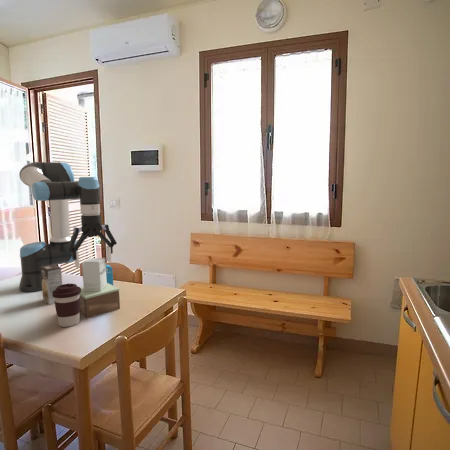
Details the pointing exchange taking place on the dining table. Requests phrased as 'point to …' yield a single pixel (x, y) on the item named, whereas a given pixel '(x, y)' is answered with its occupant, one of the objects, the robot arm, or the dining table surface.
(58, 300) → the coffee cup
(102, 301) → the box
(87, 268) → the supplement box
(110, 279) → the data package
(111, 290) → the lid
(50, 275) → the coffee box
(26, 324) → the dining table surface
